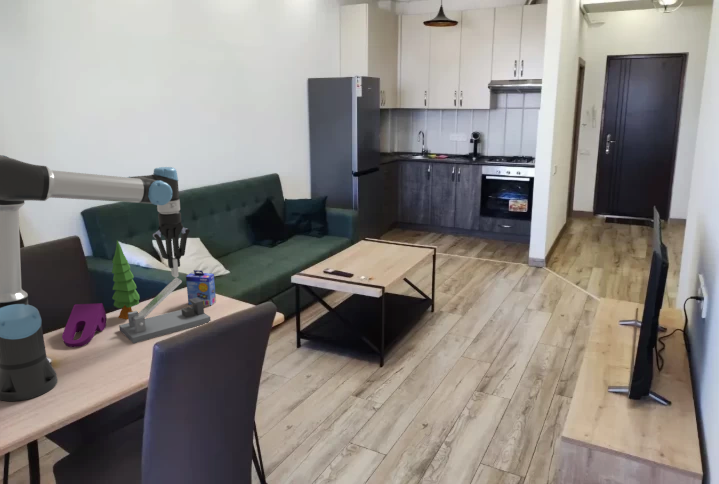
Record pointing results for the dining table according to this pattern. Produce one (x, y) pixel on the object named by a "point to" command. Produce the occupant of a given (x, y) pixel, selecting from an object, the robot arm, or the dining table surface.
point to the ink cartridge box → (201, 287)
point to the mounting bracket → (84, 323)
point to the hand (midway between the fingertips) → (175, 275)
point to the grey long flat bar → (158, 298)
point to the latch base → (164, 322)
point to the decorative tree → (123, 284)
